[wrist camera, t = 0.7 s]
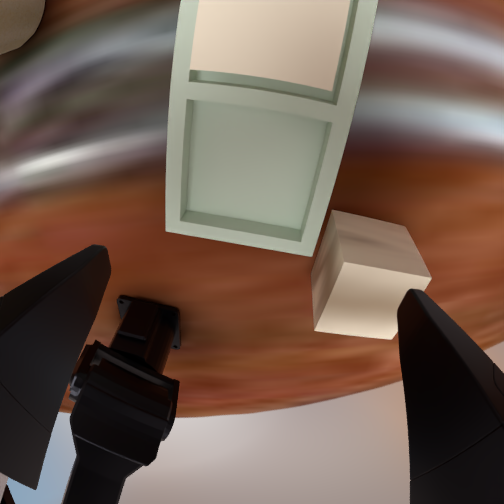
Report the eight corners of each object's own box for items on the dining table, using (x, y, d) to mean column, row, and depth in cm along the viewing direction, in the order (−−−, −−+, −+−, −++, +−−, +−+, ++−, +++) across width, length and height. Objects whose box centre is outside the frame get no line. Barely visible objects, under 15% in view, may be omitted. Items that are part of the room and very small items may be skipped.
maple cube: (376, 284, 25) (391, 339, 20) (310, 273, 25) (314, 330, 20) (404, 225, 21) (431, 278, 16) (331, 209, 21) (344, 261, 16)
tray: (309, 236, 23) (314, 293, 18) (176, 213, 23) (147, 263, 18) (371, -24, 11) (405, -49, 6) (203, -49, 11) (171, -83, 6)
